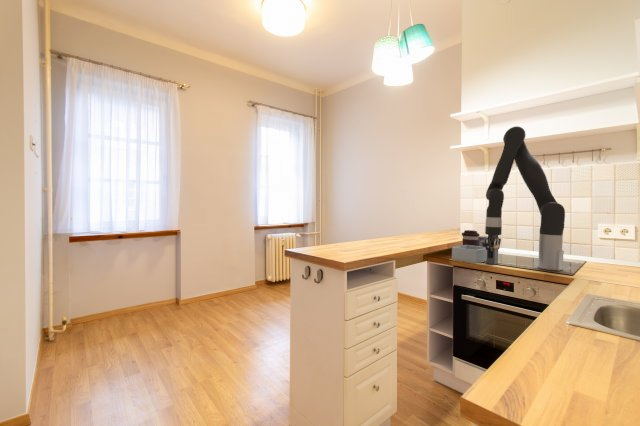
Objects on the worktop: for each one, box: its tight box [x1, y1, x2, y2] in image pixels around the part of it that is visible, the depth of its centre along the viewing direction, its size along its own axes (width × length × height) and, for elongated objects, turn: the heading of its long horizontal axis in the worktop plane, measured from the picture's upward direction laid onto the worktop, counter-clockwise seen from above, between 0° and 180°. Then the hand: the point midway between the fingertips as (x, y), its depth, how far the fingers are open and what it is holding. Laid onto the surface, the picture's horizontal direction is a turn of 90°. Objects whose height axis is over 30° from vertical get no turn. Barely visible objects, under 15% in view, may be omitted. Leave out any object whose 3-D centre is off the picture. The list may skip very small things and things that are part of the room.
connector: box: [485, 245, 500, 265], centre depth 161 cm, size 4×4×10 cm
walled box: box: [451, 244, 487, 264], centre depth 171 cm, size 14×16×7 cm
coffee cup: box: [461, 229, 480, 246], centre depth 188 cm, size 10×10×15 cm
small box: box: [478, 235, 488, 247], centre depth 193 cm, size 11×6×10 cm, turn 25°
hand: (492, 257), depth 161 cm, fingers closed on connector, 4 cm apart
